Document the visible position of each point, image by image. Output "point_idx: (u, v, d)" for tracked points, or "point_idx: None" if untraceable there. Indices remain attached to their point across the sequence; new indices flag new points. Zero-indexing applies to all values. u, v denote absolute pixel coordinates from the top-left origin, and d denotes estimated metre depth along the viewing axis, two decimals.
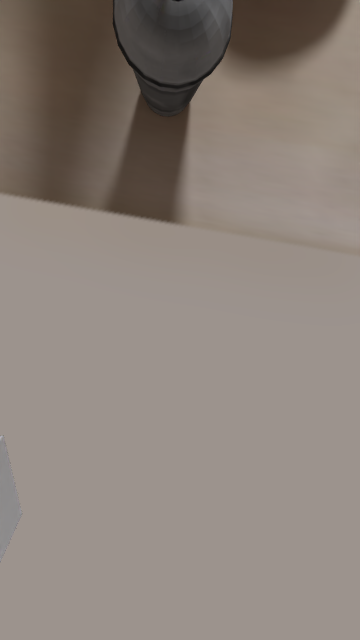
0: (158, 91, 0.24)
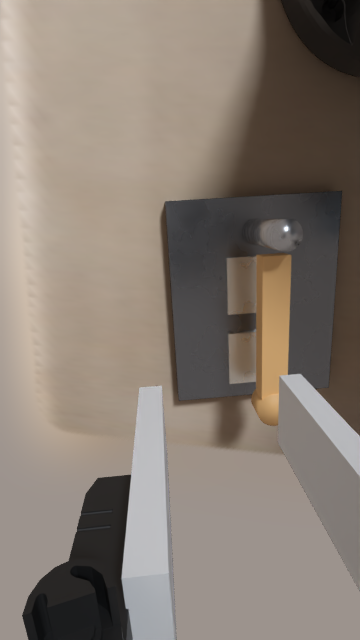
0: None
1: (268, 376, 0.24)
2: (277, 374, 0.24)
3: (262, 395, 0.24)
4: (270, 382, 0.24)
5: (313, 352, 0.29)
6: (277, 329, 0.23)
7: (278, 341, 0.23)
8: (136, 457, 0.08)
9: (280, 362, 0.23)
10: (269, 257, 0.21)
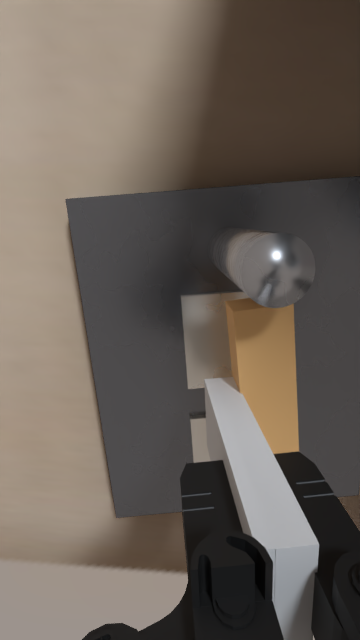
0: None
1: None
2: None
3: None
4: None
5: (334, 443, 0.17)
6: (275, 445, 0.11)
7: None
8: (227, 443, 0.09)
9: None
10: (247, 312, 0.10)
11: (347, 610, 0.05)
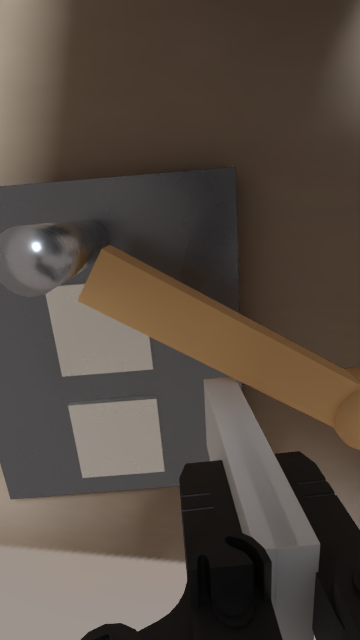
0: None
1: (301, 397, 0.12)
2: (308, 382, 0.12)
3: (328, 423, 0.12)
4: (315, 400, 0.12)
5: None
6: (226, 341, 0.11)
7: (251, 350, 0.11)
8: (226, 443, 0.09)
9: (291, 366, 0.11)
10: (84, 290, 0.11)
11: (348, 610, 0.05)
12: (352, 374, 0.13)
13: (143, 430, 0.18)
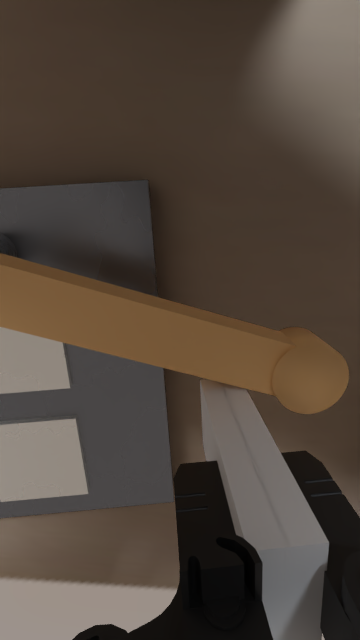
0: None
1: (229, 370, 0.11)
2: (231, 352, 0.11)
3: (266, 392, 0.11)
4: (244, 370, 0.11)
5: (139, 450, 0.17)
6: (130, 326, 0.10)
7: (159, 330, 0.10)
8: (221, 443, 0.09)
9: (208, 339, 0.10)
10: None
11: (356, 608, 0.05)
12: (286, 334, 0.12)
13: (63, 451, 0.17)
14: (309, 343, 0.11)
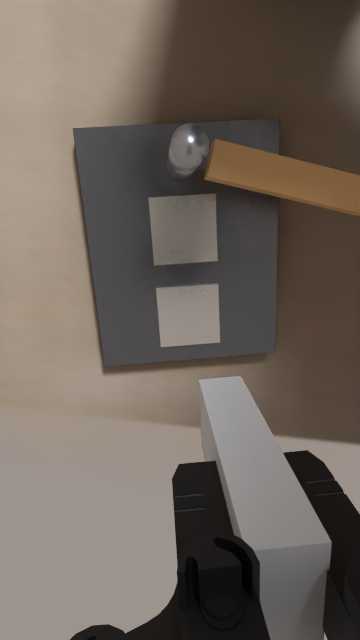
0: None
1: (353, 202, 0.19)
2: (355, 189, 0.19)
3: None
4: None
5: (256, 311, 0.25)
6: (299, 177, 0.18)
7: (315, 178, 0.18)
8: (219, 443, 0.09)
9: (342, 182, 0.18)
10: (210, 168, 0.18)
11: (359, 608, 0.05)
12: None
13: (207, 309, 0.25)
14: None
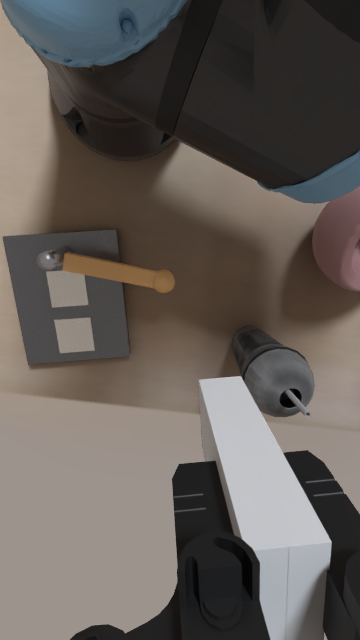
0: None
1: (139, 281, 0.37)
2: (139, 275, 0.37)
3: (151, 287, 0.37)
4: (144, 280, 0.37)
5: (115, 332, 0.44)
6: (109, 270, 0.37)
7: (117, 270, 0.37)
8: (219, 443, 0.09)
9: (132, 272, 0.37)
10: (63, 266, 0.36)
11: (359, 608, 0.05)
12: (158, 270, 0.38)
13: (85, 331, 0.43)
14: (161, 271, 0.37)
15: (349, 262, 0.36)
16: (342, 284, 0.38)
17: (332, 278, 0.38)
